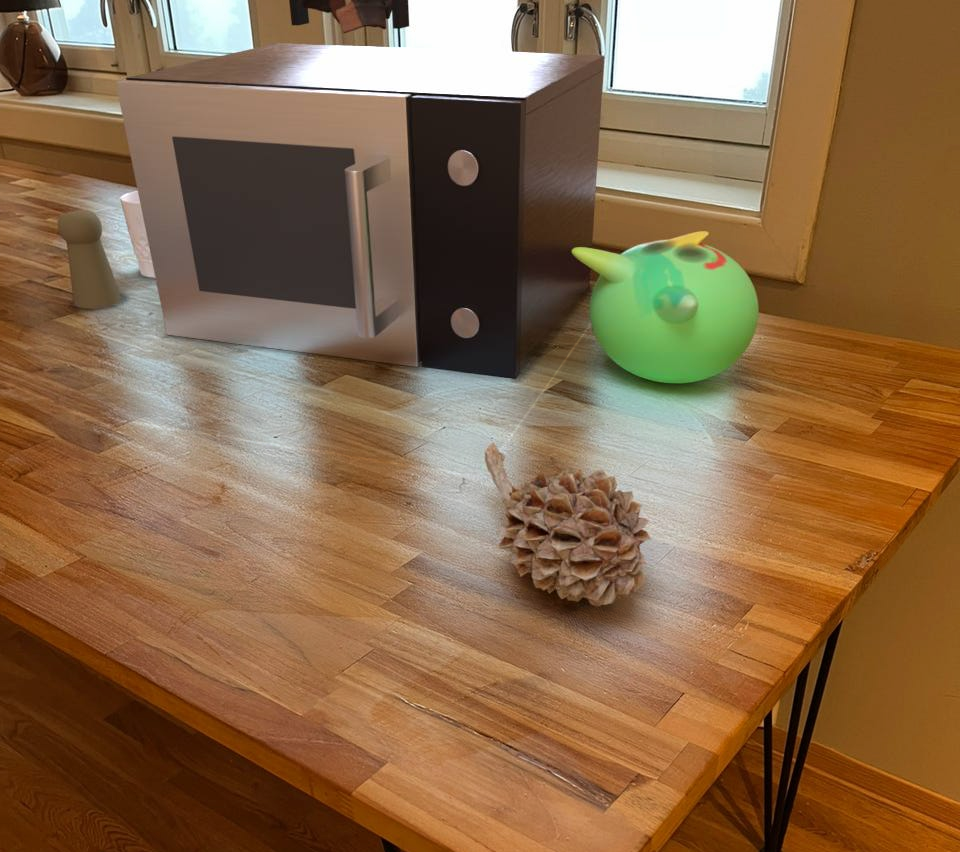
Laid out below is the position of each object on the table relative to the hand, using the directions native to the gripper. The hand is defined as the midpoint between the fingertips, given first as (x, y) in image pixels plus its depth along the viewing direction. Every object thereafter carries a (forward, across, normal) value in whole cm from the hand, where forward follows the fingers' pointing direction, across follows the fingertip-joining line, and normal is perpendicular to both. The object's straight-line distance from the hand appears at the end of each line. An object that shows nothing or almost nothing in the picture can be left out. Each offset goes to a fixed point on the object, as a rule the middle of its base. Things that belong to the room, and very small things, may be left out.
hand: (350, 26), depth 104 cm
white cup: (+31, +35, -7) cm, 47 cm away
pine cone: (+31, -37, +50) cm, 70 cm away
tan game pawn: (+31, +36, +7) cm, 48 cm away
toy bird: (+31, -39, +9) cm, 51 cm away
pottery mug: (0, -1, 0) cm, 1 cm away
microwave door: (+31, +4, +18) cm, 36 cm away
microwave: (+31, -2, -2) cm, 31 cm away
